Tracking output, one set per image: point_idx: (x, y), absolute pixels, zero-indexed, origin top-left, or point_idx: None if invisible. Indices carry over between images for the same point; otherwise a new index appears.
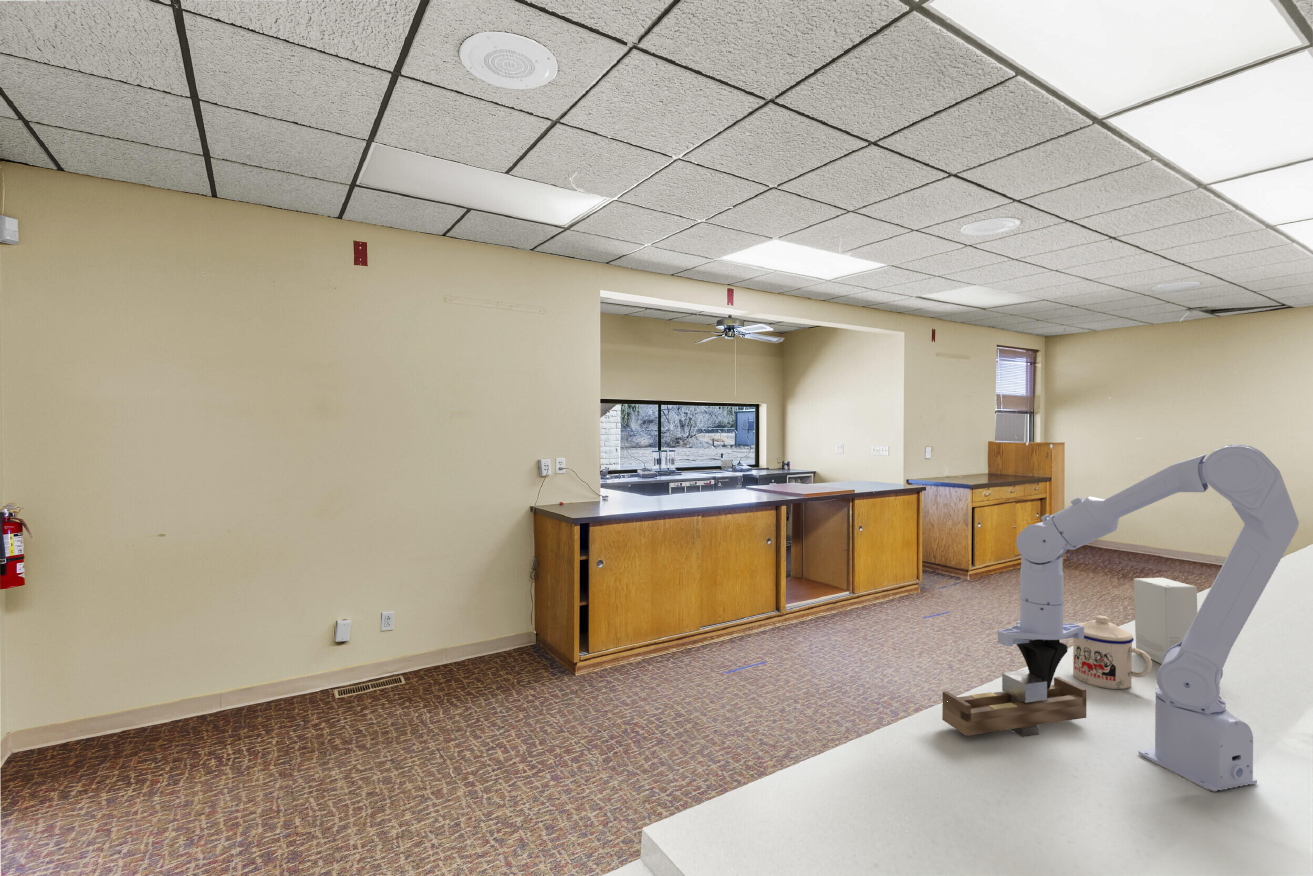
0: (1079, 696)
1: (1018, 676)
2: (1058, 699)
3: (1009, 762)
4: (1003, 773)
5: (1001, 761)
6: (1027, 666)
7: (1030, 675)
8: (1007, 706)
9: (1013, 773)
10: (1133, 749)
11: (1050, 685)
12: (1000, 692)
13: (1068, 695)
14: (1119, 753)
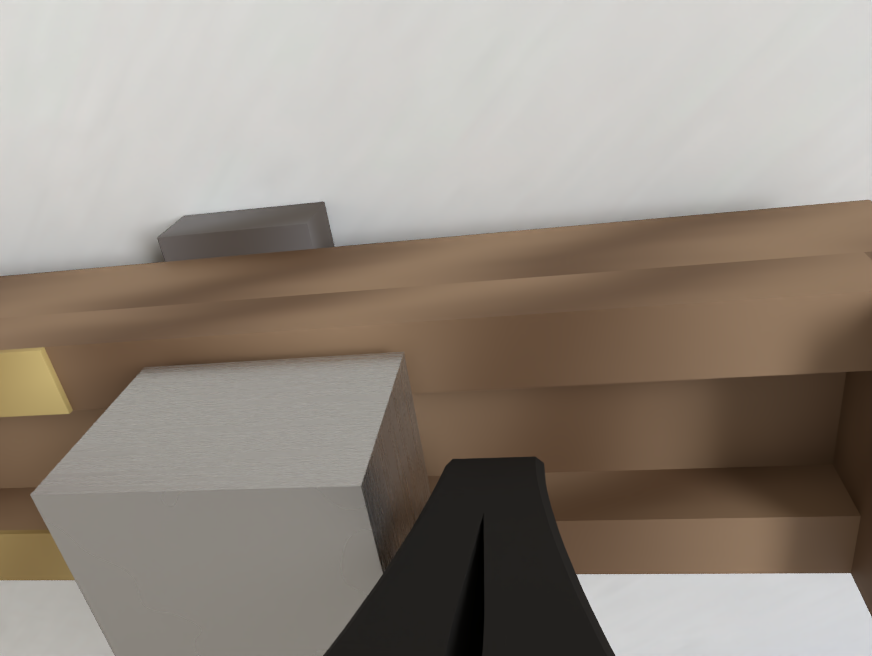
0: (857, 548)
1: (179, 605)
2: (585, 556)
3: (70, 593)
4: (11, 638)
5: (38, 582)
6: (363, 604)
7: (346, 612)
8: (68, 570)
9: (52, 646)
10: (788, 639)
11: (828, 304)
12: (137, 353)
13: (765, 519)
14: (667, 646)
